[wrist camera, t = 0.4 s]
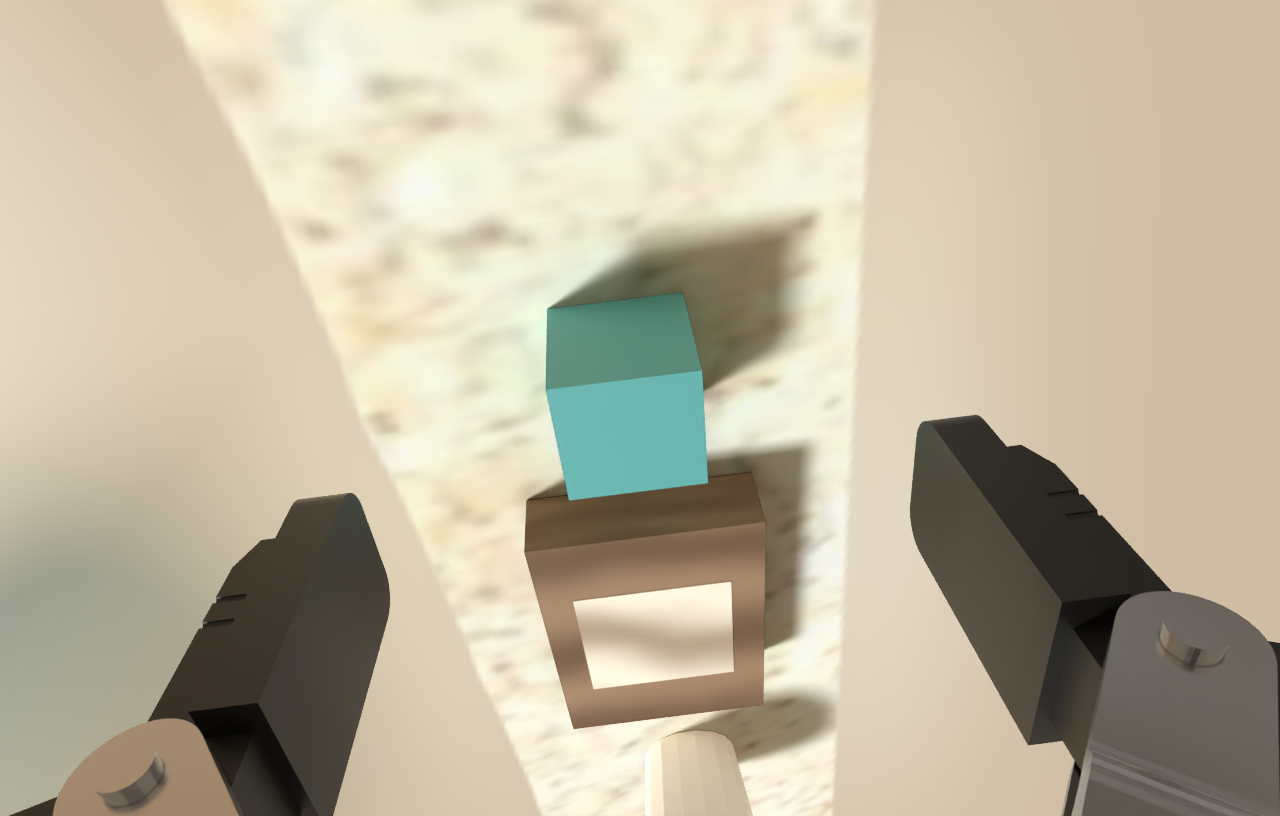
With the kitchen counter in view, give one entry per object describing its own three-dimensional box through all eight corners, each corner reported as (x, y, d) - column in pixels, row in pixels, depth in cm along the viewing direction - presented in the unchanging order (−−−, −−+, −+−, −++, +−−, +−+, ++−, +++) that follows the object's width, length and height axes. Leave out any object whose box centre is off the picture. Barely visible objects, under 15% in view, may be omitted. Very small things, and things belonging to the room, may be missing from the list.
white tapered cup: (750, 721, 48) (775, 842, 42) (736, 777, 52) (757, 893, 47) (638, 727, 47) (648, 851, 42) (633, 783, 52) (642, 902, 46)
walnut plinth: (526, 500, 35) (524, 553, 32) (751, 472, 35) (765, 522, 32) (572, 677, 43) (573, 730, 41) (752, 655, 43) (763, 705, 41)
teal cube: (547, 307, 29) (545, 390, 25) (682, 291, 29) (702, 370, 25) (567, 412, 32) (569, 500, 28) (689, 397, 32) (708, 483, 28)
